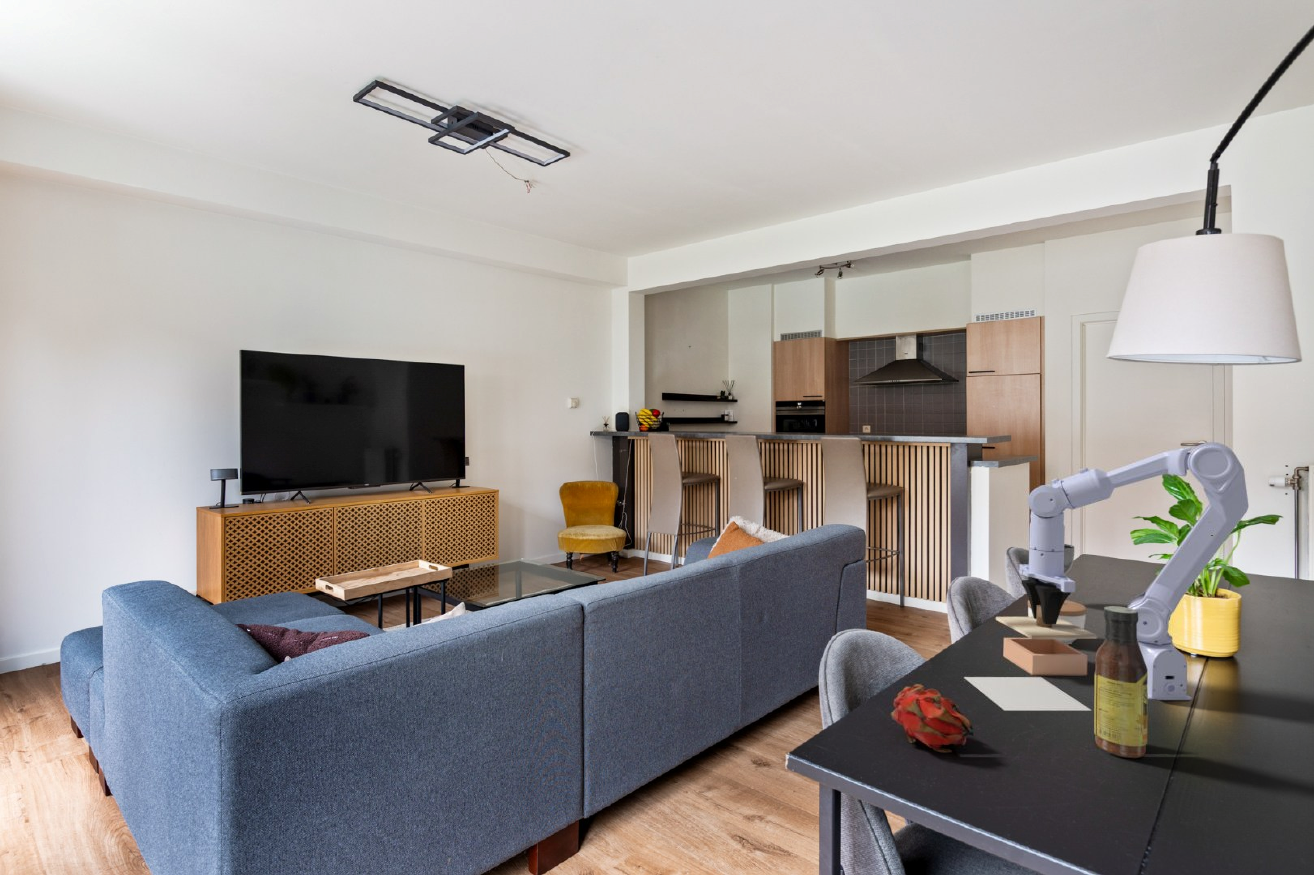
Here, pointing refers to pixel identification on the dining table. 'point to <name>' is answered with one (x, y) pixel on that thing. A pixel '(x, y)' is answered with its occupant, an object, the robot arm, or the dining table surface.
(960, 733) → the dragon fruit
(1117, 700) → the sauce bottle
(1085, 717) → the dining table surface
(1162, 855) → the dining table surface
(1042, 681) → the grey mat
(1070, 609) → the lidded jar
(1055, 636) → the birch lid
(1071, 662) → the terracotta tray
